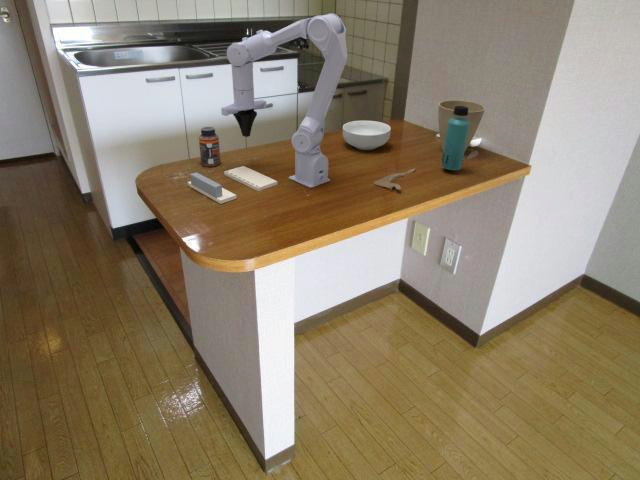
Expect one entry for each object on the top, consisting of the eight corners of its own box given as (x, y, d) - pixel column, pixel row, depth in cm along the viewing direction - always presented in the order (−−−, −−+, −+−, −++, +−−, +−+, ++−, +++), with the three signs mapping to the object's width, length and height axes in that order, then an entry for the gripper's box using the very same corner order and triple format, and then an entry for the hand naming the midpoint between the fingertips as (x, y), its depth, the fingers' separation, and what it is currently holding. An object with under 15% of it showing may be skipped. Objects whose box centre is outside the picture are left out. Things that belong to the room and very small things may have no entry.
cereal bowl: (344, 137, 169) (345, 118, 166) (389, 140, 168) (391, 121, 164) (339, 152, 155) (340, 132, 151) (388, 156, 153) (390, 135, 150)
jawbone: (369, 191, 130) (369, 185, 129) (388, 169, 147) (388, 162, 146) (400, 195, 127) (400, 188, 126) (416, 171, 143) (416, 165, 143)
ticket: (277, 184, 130) (277, 180, 130) (258, 191, 126) (258, 187, 125) (243, 168, 140) (243, 165, 139) (224, 174, 136) (224, 171, 135)
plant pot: (423, 151, 158) (430, 105, 150) (444, 142, 168) (452, 98, 160) (463, 162, 150) (472, 114, 142) (482, 152, 159) (492, 105, 151)
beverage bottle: (464, 171, 143) (477, 106, 133) (454, 176, 139) (466, 110, 129) (446, 165, 147) (457, 102, 137) (435, 171, 142) (446, 106, 132)
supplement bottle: (216, 168, 140) (212, 132, 134) (198, 166, 141) (194, 130, 135) (223, 161, 145) (220, 126, 139) (206, 159, 146) (202, 124, 140)
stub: (236, 198, 121) (235, 184, 119) (220, 203, 118) (219, 189, 116) (203, 180, 131) (201, 167, 129) (187, 185, 128) (186, 172, 126)
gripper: (255, 82, 135) (257, 128, 142) (213, 89, 126) (217, 137, 133) (270, 86, 130) (271, 133, 137) (228, 94, 121) (232, 143, 128)
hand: (246, 135), depth 135 cm, fingers closed
